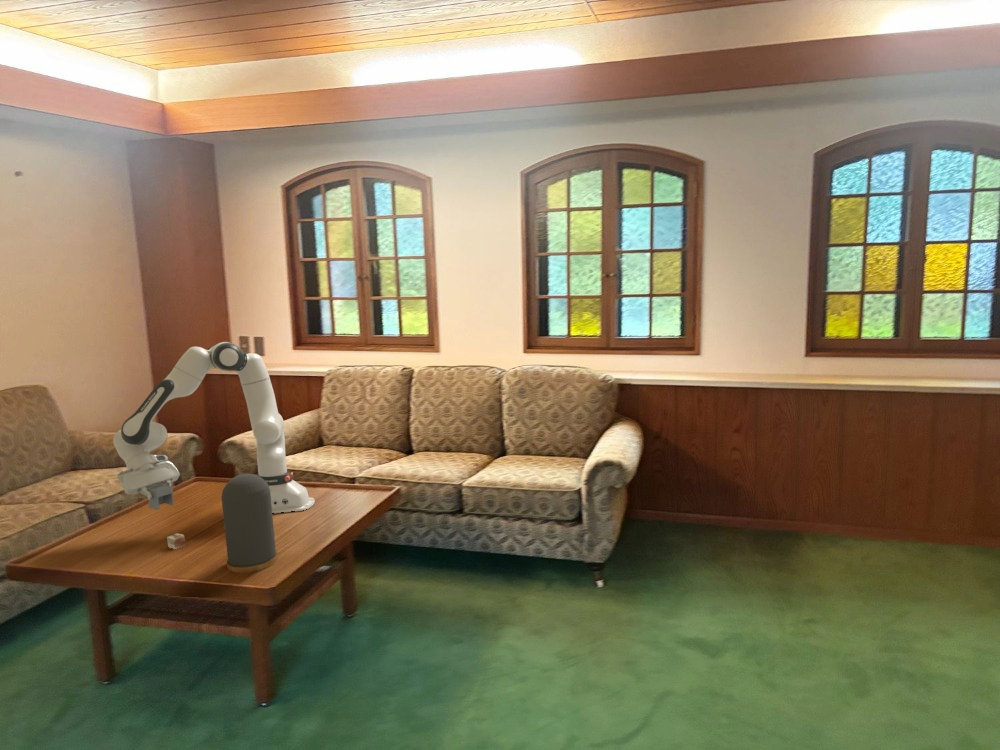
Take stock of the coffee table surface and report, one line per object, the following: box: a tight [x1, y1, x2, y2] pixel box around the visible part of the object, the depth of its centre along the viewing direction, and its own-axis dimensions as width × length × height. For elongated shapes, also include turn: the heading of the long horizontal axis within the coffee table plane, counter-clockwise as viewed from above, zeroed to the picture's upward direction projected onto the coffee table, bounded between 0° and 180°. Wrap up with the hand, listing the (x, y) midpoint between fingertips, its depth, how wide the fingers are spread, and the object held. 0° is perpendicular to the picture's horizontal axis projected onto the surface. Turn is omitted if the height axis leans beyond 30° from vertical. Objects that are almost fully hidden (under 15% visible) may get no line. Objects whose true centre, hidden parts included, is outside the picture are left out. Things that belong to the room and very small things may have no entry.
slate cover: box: [147, 484, 175, 511], centre depth 254 cm, size 6×6×7 cm
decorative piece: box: [221, 473, 279, 574], centre depth 228 cm, size 16×16×30 cm
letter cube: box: [166, 533, 186, 550], centre depth 246 cm, size 4×4×4 cm
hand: (161, 495), depth 254 cm, fingers closed on slate cover, 6 cm apart
